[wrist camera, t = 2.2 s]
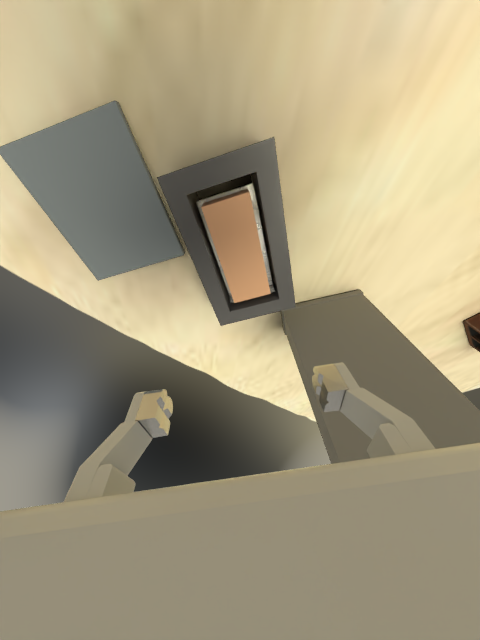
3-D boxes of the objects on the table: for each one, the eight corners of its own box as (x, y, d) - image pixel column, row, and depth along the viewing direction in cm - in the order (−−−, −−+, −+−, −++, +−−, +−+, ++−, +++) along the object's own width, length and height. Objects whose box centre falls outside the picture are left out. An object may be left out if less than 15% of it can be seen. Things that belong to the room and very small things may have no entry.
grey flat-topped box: (283, 331, 42) (337, 488, 22) (280, 306, 38) (340, 469, 18) (355, 315, 40) (481, 469, 21) (359, 288, 36) (517, 444, 17)
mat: (118, 102, 21) (115, 100, 20) (184, 252, 31) (184, 254, 30) (2, 148, 23) (-5, 148, 22) (100, 278, 32) (97, 280, 32)
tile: (203, 203, 23) (201, 207, 21) (247, 188, 22) (249, 191, 21) (233, 293, 30) (234, 303, 28) (267, 284, 30) (270, 293, 28)
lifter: (197, 200, 24) (195, 203, 22) (252, 182, 23) (254, 184, 21) (230, 296, 32) (230, 303, 30) (272, 285, 31) (274, 291, 29)
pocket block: (171, 172, 25) (156, 177, 19) (262, 141, 24) (274, 136, 18) (221, 299, 36) (220, 325, 31) (284, 283, 35) (295, 307, 29)
